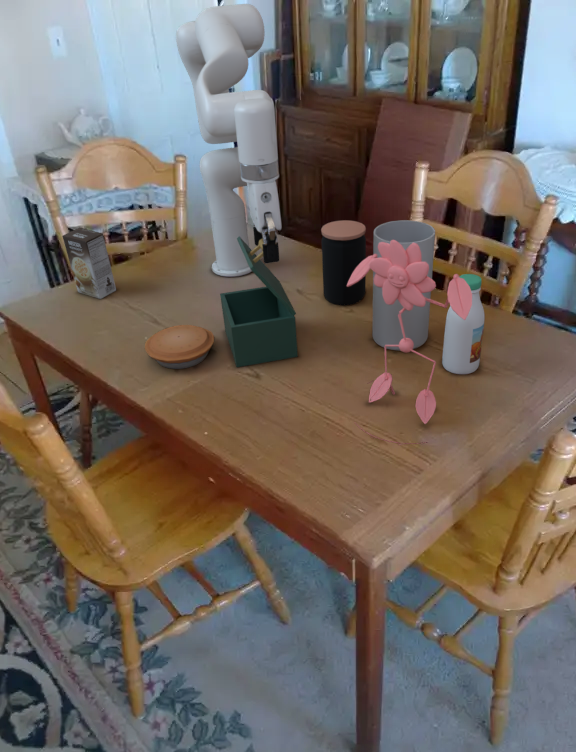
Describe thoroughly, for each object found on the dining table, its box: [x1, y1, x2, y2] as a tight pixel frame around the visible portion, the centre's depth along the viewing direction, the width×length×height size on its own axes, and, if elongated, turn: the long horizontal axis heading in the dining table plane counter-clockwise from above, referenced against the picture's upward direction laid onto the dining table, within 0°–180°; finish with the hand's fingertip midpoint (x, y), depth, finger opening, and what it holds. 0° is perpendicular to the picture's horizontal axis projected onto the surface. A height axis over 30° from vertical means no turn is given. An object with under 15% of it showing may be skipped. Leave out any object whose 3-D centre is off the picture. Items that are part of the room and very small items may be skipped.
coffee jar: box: [320, 219, 367, 307], centre depth 162 cm, size 11×11×18 cm
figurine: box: [347, 240, 472, 446], centre depth 116 cm, size 15×26×35 cm, turn 48°
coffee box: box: [61, 227, 117, 300], centre depth 173 cm, size 9×6×16 cm
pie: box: [144, 324, 215, 370], centre depth 147 cm, size 15×16×5 cm
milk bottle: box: [441, 273, 486, 375], centre depth 134 cm, size 8×8×20 cm
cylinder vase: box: [371, 219, 436, 352], centre depth 143 cm, size 12×12×25 cm
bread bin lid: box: [237, 236, 297, 316], centre depth 141 cm, size 15×17×5 cm
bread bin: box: [219, 286, 299, 368], centre depth 148 cm, size 14×17×10 cm
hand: (266, 253), depth 139 cm, fingers open, 9 cm apart
